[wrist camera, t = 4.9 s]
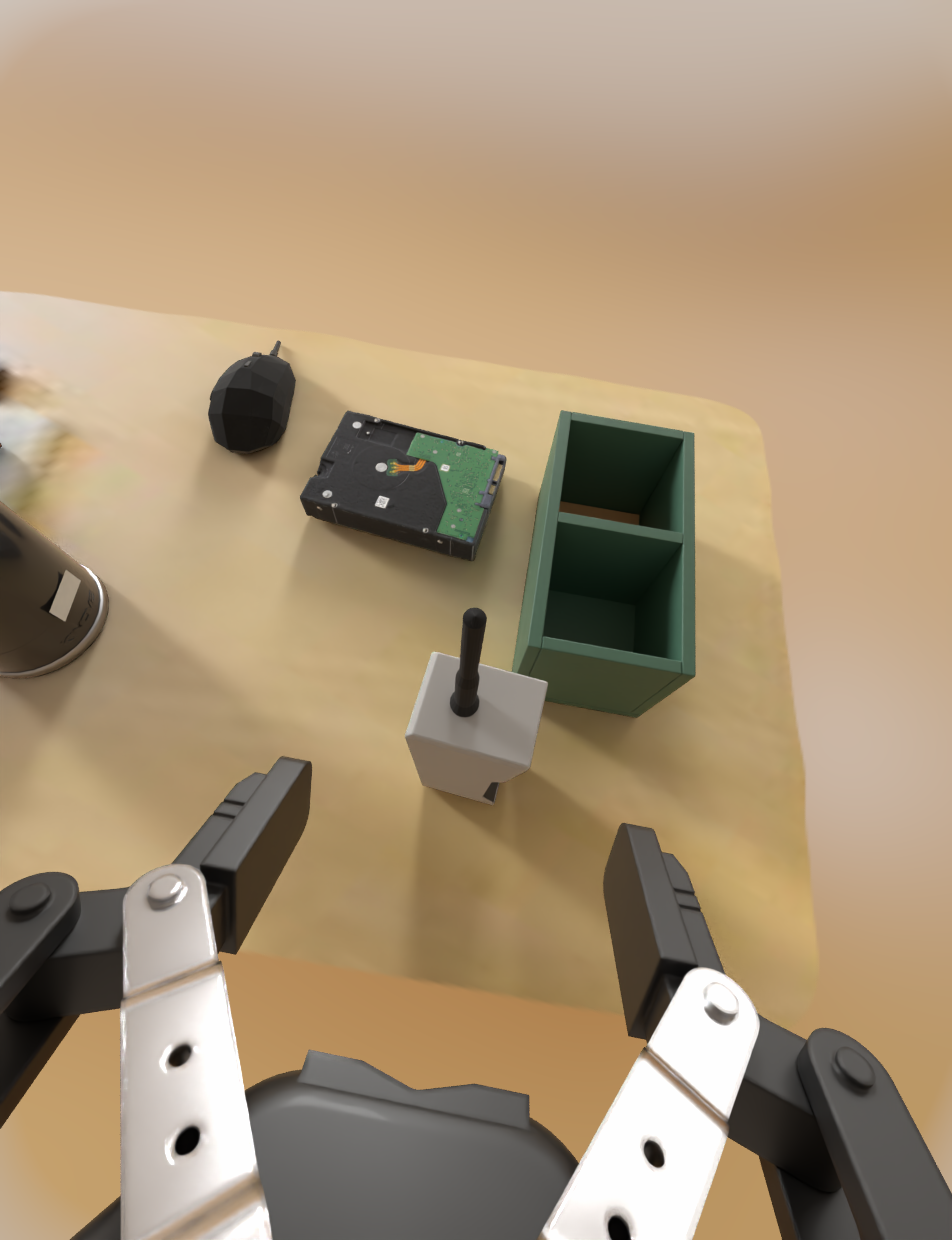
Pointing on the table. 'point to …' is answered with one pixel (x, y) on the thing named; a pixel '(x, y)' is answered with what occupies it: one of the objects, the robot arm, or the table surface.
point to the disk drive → (406, 485)
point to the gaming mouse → (252, 402)
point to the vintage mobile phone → (473, 720)
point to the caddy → (612, 567)
